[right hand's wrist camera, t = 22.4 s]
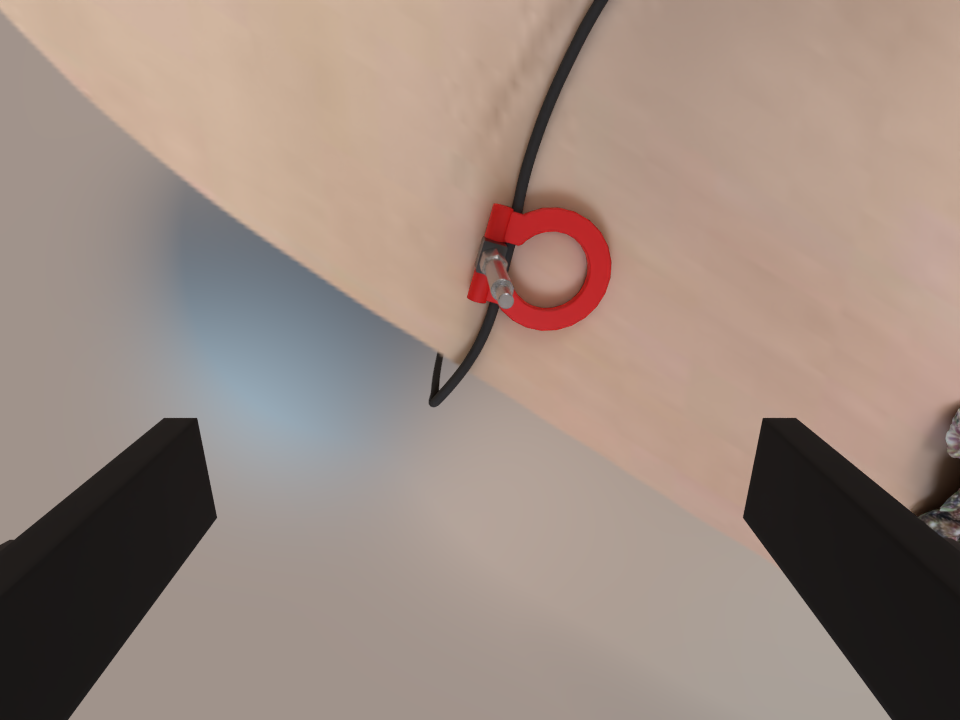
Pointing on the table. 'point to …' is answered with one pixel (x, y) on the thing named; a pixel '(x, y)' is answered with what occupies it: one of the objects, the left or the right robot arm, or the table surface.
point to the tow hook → (516, 230)
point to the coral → (956, 513)
